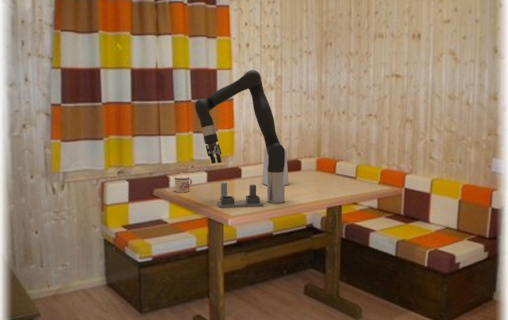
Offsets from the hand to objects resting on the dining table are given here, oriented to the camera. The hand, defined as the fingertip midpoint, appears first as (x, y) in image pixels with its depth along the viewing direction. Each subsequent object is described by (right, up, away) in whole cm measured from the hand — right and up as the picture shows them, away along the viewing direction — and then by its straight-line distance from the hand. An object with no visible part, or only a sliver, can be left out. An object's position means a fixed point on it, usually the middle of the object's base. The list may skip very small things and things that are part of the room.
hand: (216, 163), depth 298 cm
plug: (+3, -21, +15) cm, 26 cm away
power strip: (+13, -23, -2) cm, 26 cm away
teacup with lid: (-23, -18, +37) cm, 47 cm away
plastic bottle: (+34, -15, +58) cm, 69 cm away
